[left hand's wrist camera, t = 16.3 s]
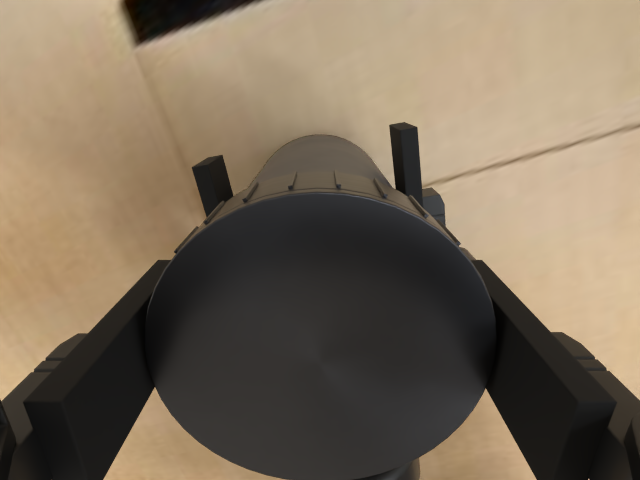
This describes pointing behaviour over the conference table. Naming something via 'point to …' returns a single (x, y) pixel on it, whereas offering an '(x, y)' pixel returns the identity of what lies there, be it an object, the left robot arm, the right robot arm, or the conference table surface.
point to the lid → (320, 329)
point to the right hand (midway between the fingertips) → (303, 143)
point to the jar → (320, 159)
